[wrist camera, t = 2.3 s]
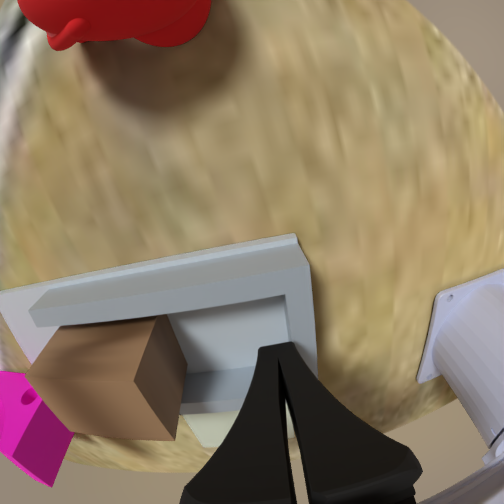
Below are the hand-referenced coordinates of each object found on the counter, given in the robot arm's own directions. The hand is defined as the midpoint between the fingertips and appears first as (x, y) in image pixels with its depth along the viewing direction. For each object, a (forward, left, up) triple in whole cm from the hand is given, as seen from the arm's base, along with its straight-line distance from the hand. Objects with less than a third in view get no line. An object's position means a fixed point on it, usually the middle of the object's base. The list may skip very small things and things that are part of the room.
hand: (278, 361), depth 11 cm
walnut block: (+8, 0, -3) cm, 8 cm away
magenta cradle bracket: (+22, +6, -3) cm, 23 cm away
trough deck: (+8, 0, -3) cm, 9 cm away
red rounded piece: (+3, -16, -4) cm, 17 cm away
